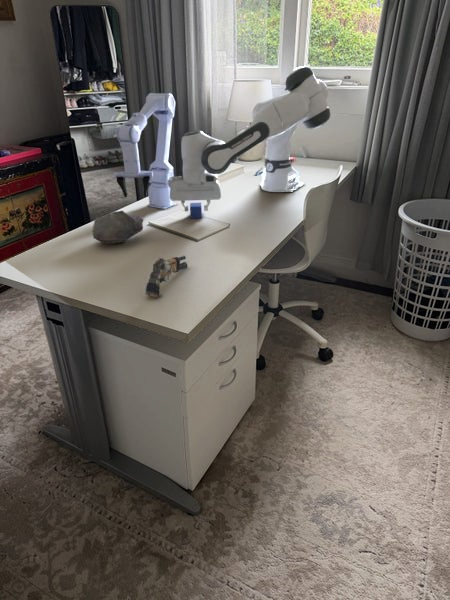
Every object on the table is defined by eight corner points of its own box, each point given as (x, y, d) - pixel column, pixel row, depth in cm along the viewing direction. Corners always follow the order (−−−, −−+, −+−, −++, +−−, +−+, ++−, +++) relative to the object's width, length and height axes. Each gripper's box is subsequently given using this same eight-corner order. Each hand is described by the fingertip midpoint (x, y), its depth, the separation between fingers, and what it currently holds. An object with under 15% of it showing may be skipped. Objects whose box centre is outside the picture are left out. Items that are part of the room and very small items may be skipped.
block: (190, 218, 169) (190, 206, 166) (191, 214, 173) (190, 202, 171) (201, 218, 169) (201, 206, 166) (201, 214, 173) (201, 202, 171)
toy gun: (142, 297, 112) (143, 260, 110) (178, 282, 131) (180, 250, 128) (153, 299, 111) (154, 262, 108) (188, 284, 130) (190, 252, 127)
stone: (131, 200, 152) (144, 211, 140) (139, 226, 157) (152, 240, 146) (83, 215, 146) (92, 228, 134) (93, 242, 152) (103, 257, 140)
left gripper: (109, 163, 153) (115, 199, 160) (149, 162, 154) (153, 198, 161) (113, 158, 159) (118, 194, 166) (151, 158, 160) (155, 193, 167)
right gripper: (166, 178, 160) (169, 213, 167) (220, 177, 160) (221, 212, 167) (168, 174, 165) (170, 208, 172) (220, 173, 166) (220, 207, 173)
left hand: (135, 196), depth 164 cm, fingers open, 7 cm apart
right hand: (196, 210), depth 170 cm, fingers open, 6 cm apart
